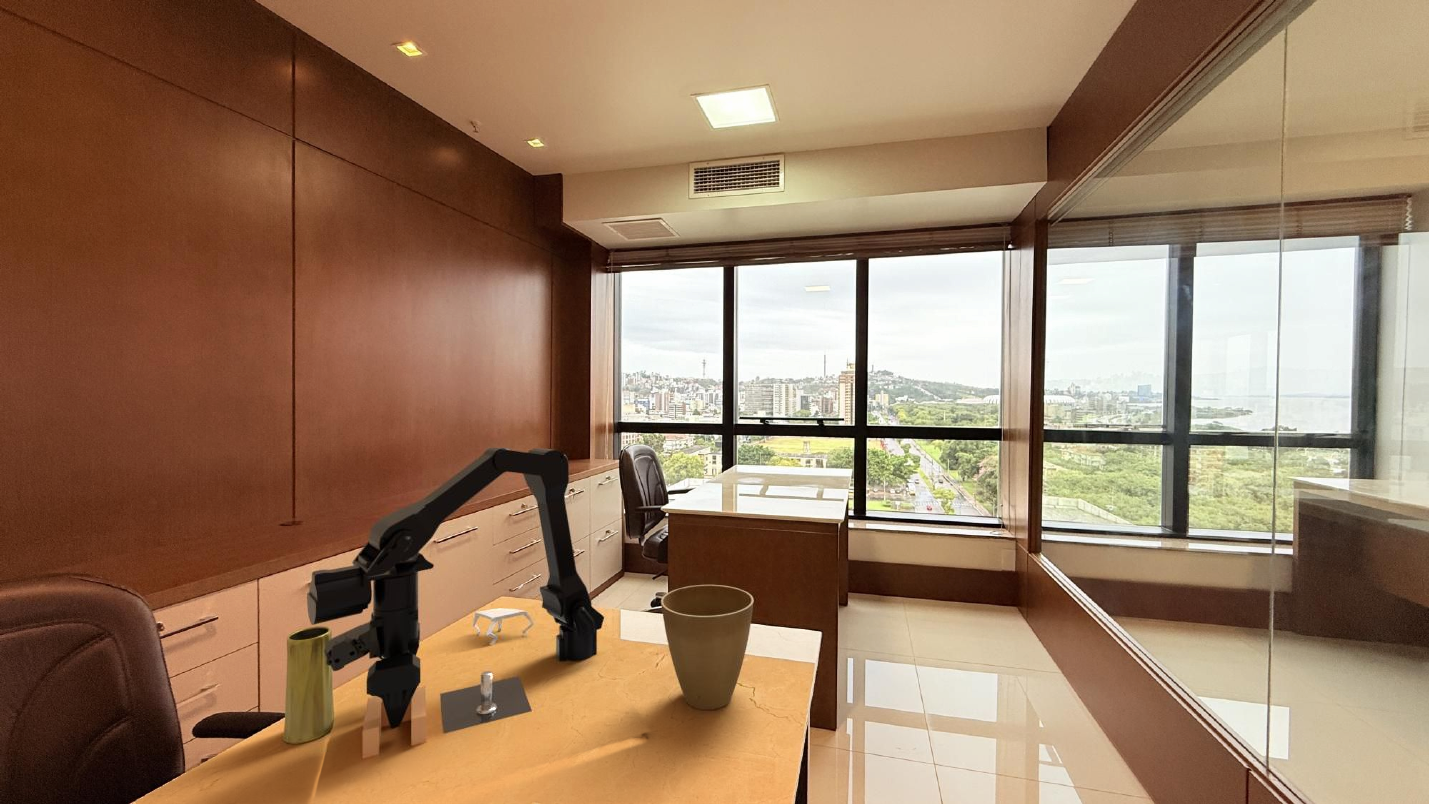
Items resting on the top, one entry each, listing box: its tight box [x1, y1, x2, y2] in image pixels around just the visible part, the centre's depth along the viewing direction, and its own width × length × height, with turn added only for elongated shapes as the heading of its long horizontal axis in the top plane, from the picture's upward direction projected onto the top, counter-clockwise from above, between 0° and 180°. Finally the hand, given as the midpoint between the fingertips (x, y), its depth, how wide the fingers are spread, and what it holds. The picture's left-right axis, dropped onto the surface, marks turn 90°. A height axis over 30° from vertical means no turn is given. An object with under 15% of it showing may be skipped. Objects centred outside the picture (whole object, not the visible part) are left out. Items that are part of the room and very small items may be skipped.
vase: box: [282, 625, 335, 745], centre depth 80 cm, size 6×6×14 cm
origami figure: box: [472, 607, 535, 646], centre depth 113 cm, size 12×8×5 cm
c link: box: [362, 685, 427, 759], centre depth 78 cm, size 7×9×4 cm
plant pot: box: [660, 584, 754, 711], centre depth 89 cm, size 15×15×16 cm
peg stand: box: [440, 670, 533, 734], centre depth 86 cm, size 12×12×6 cm
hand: (396, 711), depth 81 cm, fingers open, 9 cm apart
